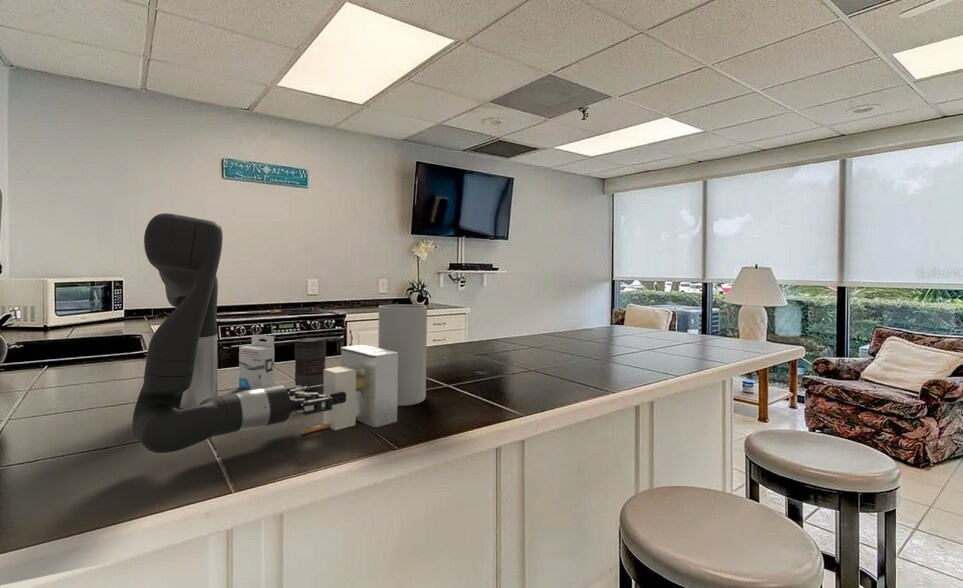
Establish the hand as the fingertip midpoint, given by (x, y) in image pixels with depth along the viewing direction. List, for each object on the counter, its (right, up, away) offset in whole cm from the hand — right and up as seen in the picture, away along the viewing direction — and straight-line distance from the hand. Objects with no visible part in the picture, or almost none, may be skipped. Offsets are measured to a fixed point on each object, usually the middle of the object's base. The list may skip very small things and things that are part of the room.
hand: (334, 392), depth 105 cm
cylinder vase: (+11, -7, +22) cm, 25 cm away
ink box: (-32, -5, +31) cm, 45 cm away
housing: (+6, -7, +7) cm, 11 cm away
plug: (+2, -7, +2) cm, 8 cm away
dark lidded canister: (-15, -6, +27) cm, 31 cm away
